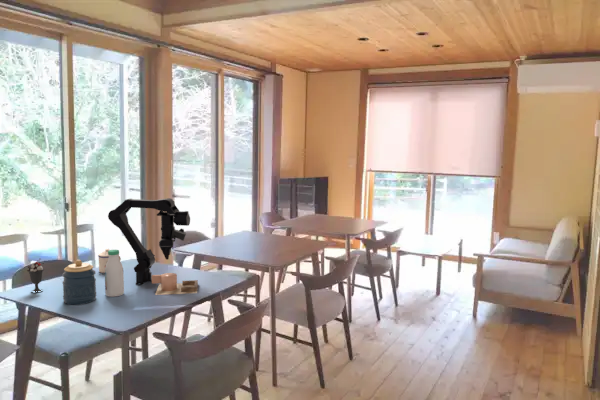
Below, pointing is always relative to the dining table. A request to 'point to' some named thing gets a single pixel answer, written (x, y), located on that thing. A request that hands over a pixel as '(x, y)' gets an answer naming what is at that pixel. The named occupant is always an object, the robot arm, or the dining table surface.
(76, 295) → the canister
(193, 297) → the dining table surface
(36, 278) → the sundae
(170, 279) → the peach dome with handle
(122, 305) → the dining table surface
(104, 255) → the teacup with lid
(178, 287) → the cradle
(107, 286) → the milk bottle
